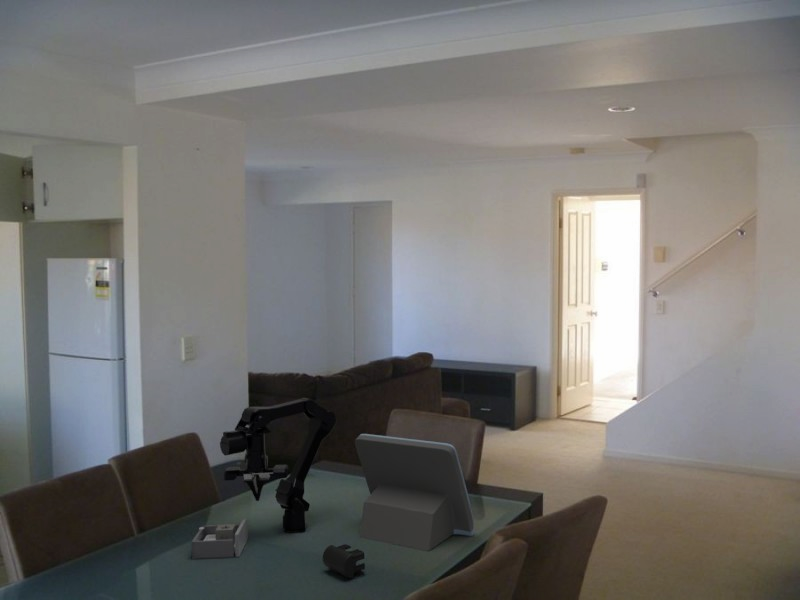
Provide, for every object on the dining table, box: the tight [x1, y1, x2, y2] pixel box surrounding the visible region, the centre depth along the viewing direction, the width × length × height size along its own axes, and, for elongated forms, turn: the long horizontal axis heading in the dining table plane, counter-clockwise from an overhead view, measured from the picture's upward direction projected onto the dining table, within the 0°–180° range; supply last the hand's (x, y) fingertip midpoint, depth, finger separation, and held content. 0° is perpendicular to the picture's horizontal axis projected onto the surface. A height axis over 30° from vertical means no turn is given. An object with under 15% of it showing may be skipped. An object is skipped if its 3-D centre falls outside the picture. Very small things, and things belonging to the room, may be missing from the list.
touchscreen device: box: [354, 433, 475, 552], centre depth 241 cm, size 35×20×30 cm, turn 56°
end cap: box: [322, 543, 366, 580], centre depth 213 cm, size 10×7×7 cm
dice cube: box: [215, 523, 237, 544], centre depth 235 cm, size 5×5×5 cm
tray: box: [203, 518, 248, 558], centre depth 235 cm, size 12×14×6 cm
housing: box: [190, 523, 241, 560], centre depth 235 cm, size 12×14×5 cm
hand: (257, 500), depth 241 cm, fingers closed
